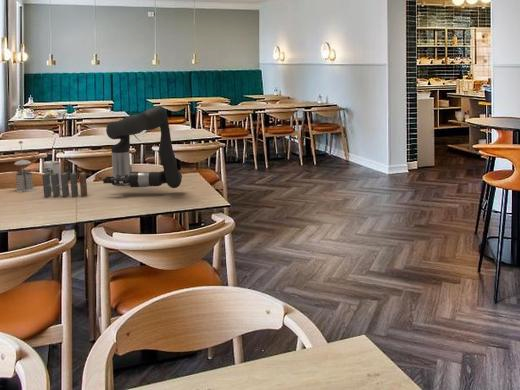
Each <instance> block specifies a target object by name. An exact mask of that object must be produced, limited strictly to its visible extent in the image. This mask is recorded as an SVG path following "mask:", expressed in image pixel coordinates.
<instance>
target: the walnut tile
mask: <svg viewBox="0 0 520 390" xmlns="http://www.w3.org/2000/svg"><path fill="white" fill-rule="evenodd" d="M78 175H79V186H80V187H79V190H80V197H82V198H83V197H84V198H85V197H86V196H87V195H88V188H87V186H88V185H87V174H86V171H85V172H84V171H83V172H80V173H79V174H78Z"/></svg>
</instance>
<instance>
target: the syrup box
mask: <svg viewBox="0 0 520 390" xmlns="http://www.w3.org/2000/svg"><path fill="white" fill-rule="evenodd" d="M43 169H44V170H43V171H44V174H45V173H49V175H50V185H51V192H53V186H52V174H54V173H58V174H59V185H60V190H62V184H61V174H62V173H61V162H60V161H57V160H55V161H54V160H48V161H47V160H46V161H43Z"/></svg>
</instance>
